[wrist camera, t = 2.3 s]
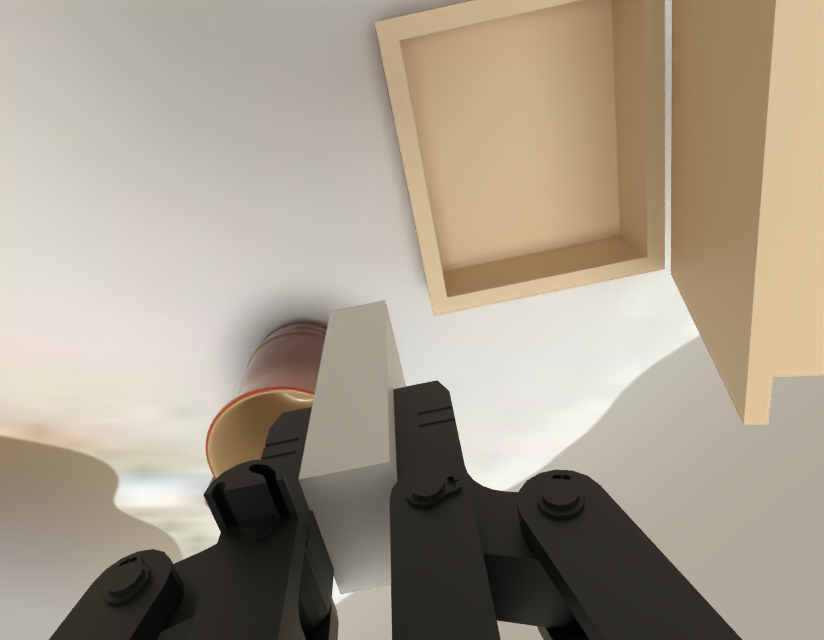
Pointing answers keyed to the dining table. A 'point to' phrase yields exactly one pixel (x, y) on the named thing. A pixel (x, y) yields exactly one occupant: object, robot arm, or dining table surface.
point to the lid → (750, 188)
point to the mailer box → (530, 143)
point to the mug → (266, 395)
